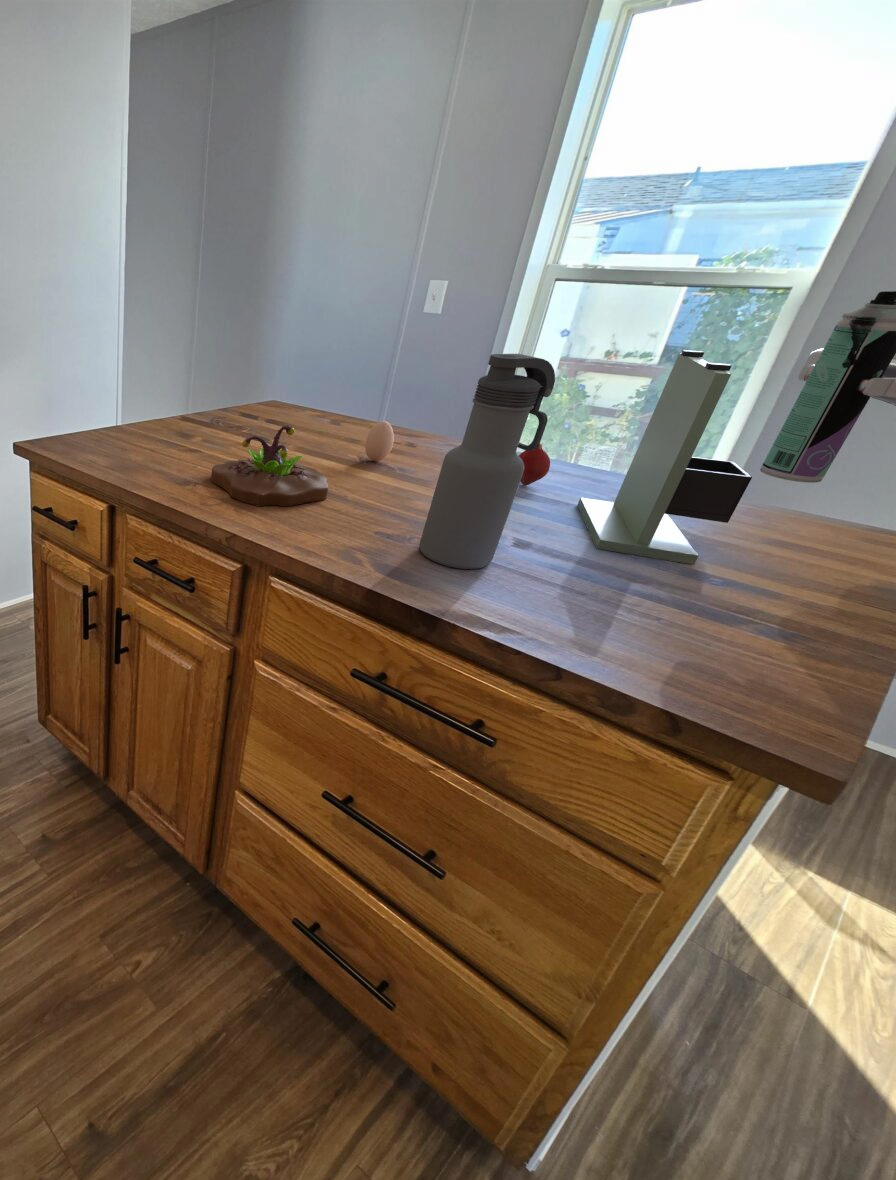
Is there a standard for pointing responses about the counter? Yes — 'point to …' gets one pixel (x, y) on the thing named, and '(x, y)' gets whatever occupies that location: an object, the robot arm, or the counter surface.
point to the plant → (270, 476)
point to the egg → (379, 441)
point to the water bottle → (486, 464)
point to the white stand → (671, 472)
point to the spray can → (834, 392)
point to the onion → (534, 465)
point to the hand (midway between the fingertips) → (834, 379)
